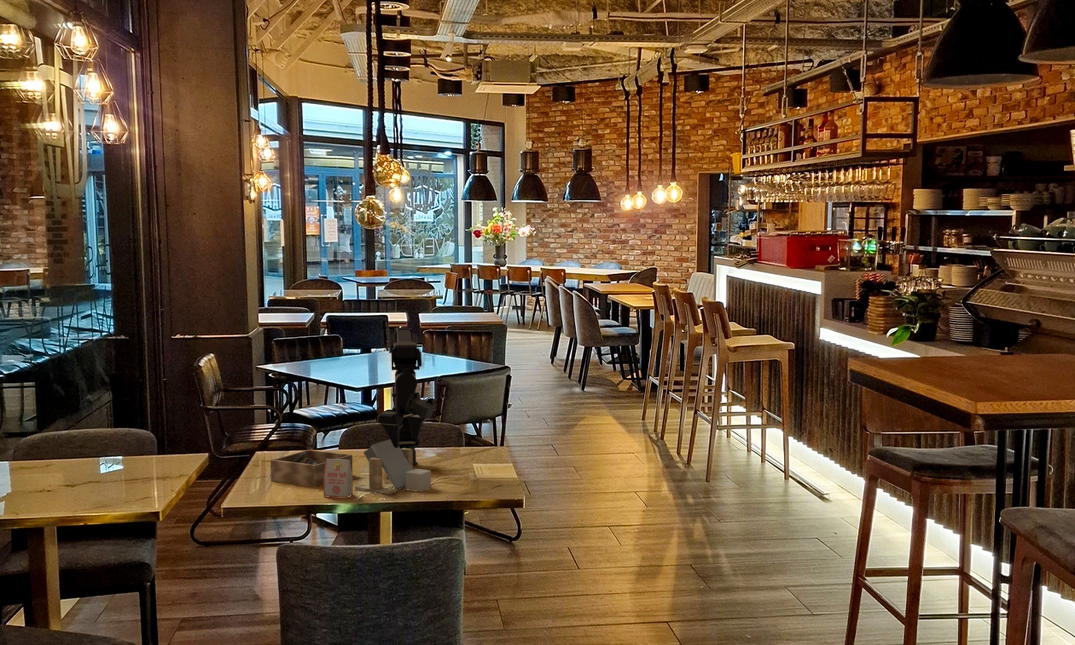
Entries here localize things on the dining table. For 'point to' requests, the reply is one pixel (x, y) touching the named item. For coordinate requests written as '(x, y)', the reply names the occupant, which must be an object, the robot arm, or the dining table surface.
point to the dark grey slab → (390, 461)
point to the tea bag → (337, 478)
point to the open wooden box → (304, 468)
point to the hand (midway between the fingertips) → (405, 444)
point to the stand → (376, 474)
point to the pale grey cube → (418, 479)
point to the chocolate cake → (304, 459)
